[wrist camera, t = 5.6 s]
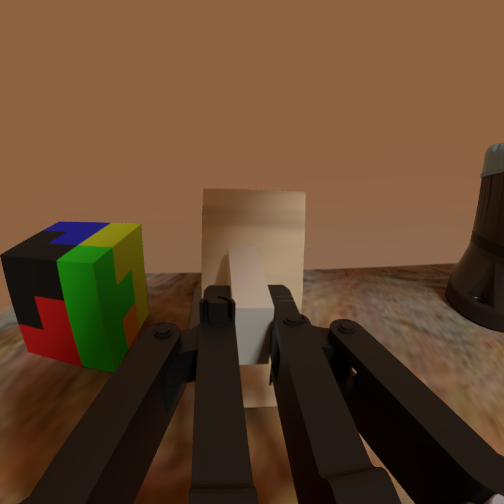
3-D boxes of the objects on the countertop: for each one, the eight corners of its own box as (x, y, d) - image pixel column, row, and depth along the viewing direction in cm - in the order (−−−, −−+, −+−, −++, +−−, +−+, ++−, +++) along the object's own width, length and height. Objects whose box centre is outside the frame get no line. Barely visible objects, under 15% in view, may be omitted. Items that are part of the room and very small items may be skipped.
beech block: (293, 404, 20) (305, 192, 18) (204, 407, 19) (203, 188, 18) (278, 368, 26) (285, 199, 24) (207, 369, 25) (207, 197, 24)
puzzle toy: (73, 303, 33) (59, 221, 29) (149, 313, 33) (141, 223, 29) (28, 352, 23) (0, 255, 20) (115, 373, 23) (93, 263, 20)
